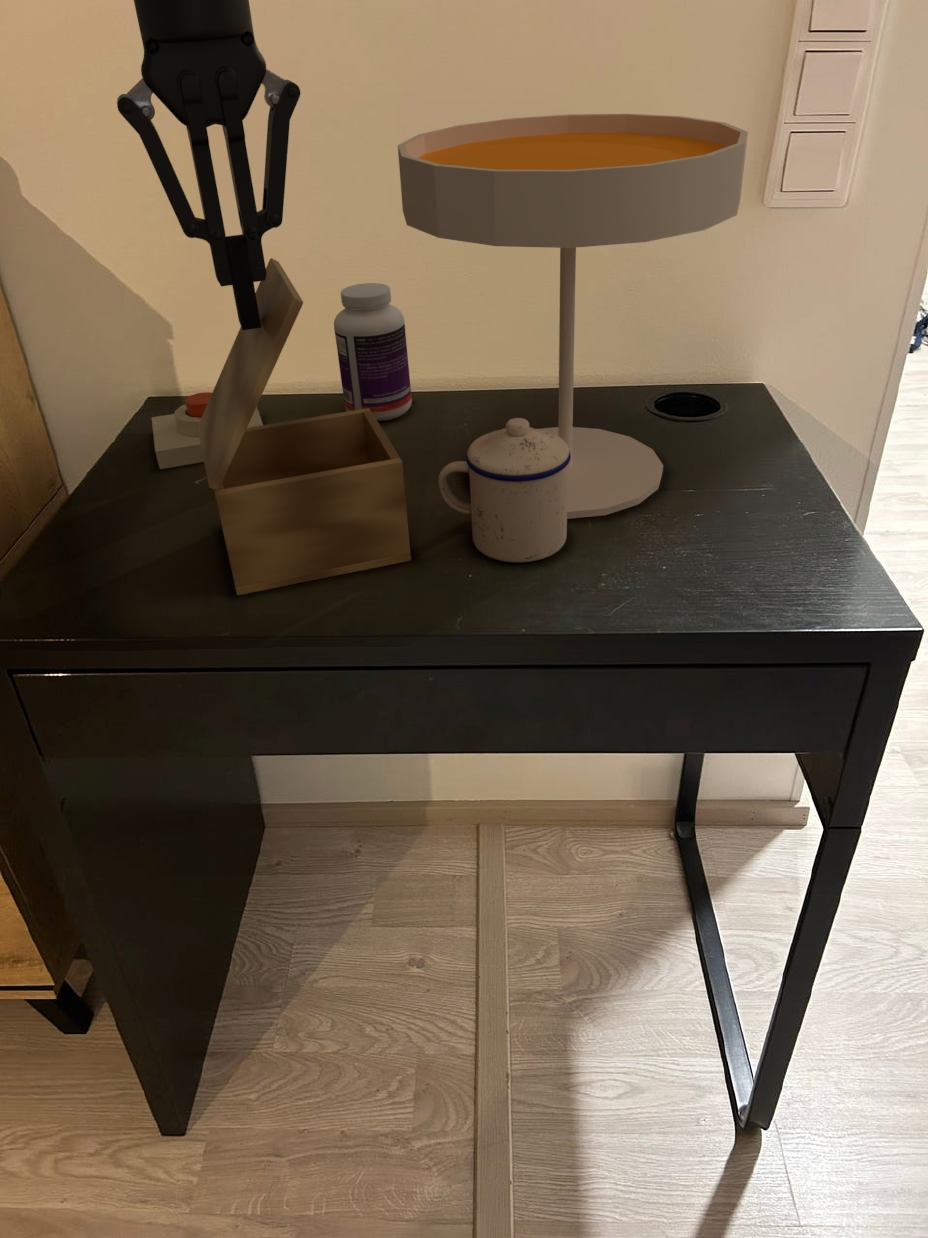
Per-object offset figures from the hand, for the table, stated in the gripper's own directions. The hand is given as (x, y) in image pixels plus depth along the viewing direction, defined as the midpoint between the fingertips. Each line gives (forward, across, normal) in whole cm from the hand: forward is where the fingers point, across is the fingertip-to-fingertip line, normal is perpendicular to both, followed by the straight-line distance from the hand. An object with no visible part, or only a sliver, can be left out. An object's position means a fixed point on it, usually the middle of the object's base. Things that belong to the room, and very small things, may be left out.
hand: (249, 323), depth 77 cm
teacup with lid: (+21, -19, +6) cm, 29 cm away
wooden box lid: (+4, +1, 0) cm, 4 cm away
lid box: (+21, -2, 0) cm, 21 cm away
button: (+17, +5, -27) cm, 33 cm away
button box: (+21, +5, -27) cm, 35 cm away
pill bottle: (+21, -15, -28) cm, 39 cm away
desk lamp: (+21, -29, -5) cm, 37 cm away
